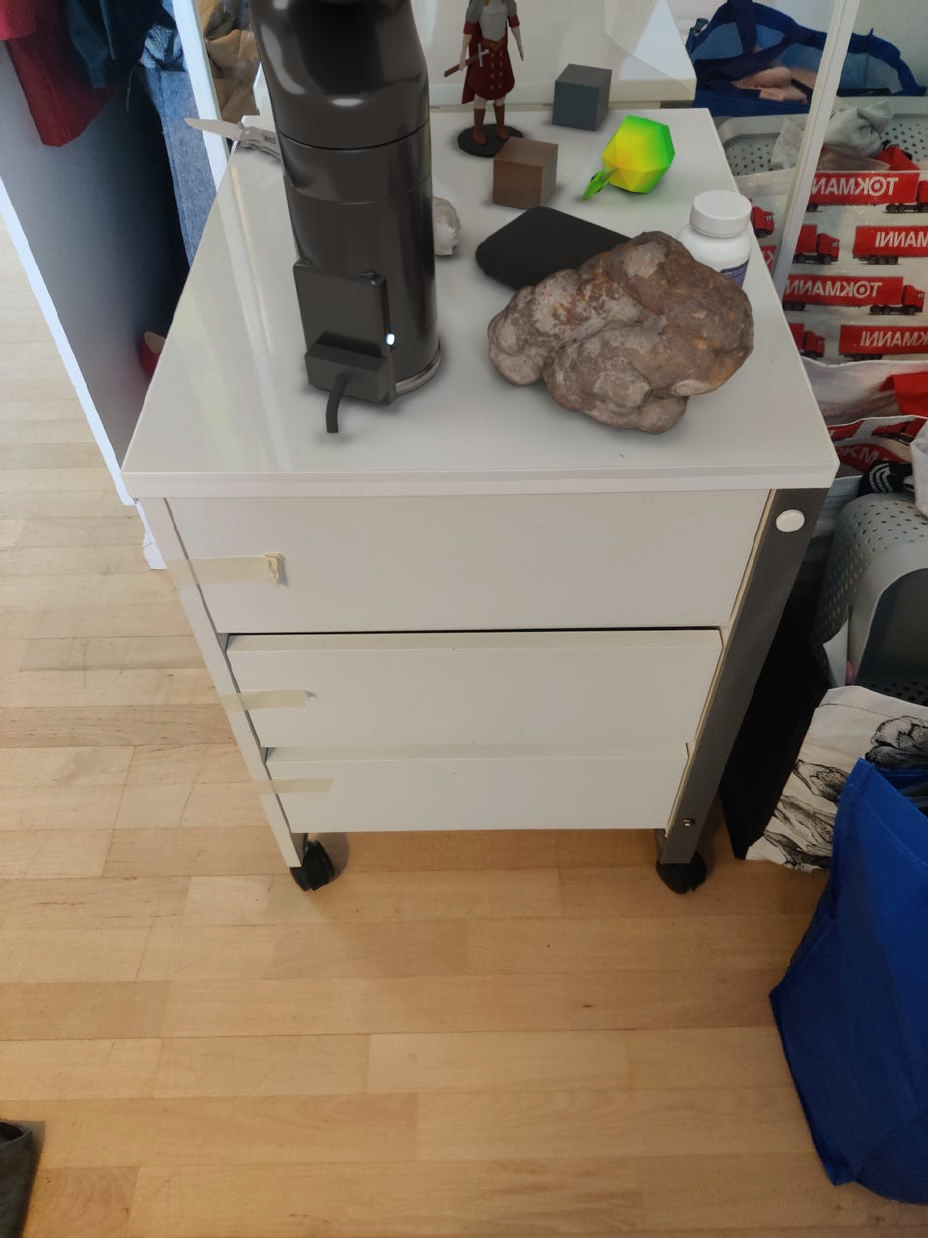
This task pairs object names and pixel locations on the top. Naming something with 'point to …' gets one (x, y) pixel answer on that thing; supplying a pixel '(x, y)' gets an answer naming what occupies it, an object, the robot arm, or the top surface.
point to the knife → (239, 134)
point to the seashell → (445, 226)
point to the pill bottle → (720, 232)
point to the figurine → (487, 72)
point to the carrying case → (542, 246)
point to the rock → (627, 333)
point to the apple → (635, 156)
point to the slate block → (581, 96)
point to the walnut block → (524, 173)
